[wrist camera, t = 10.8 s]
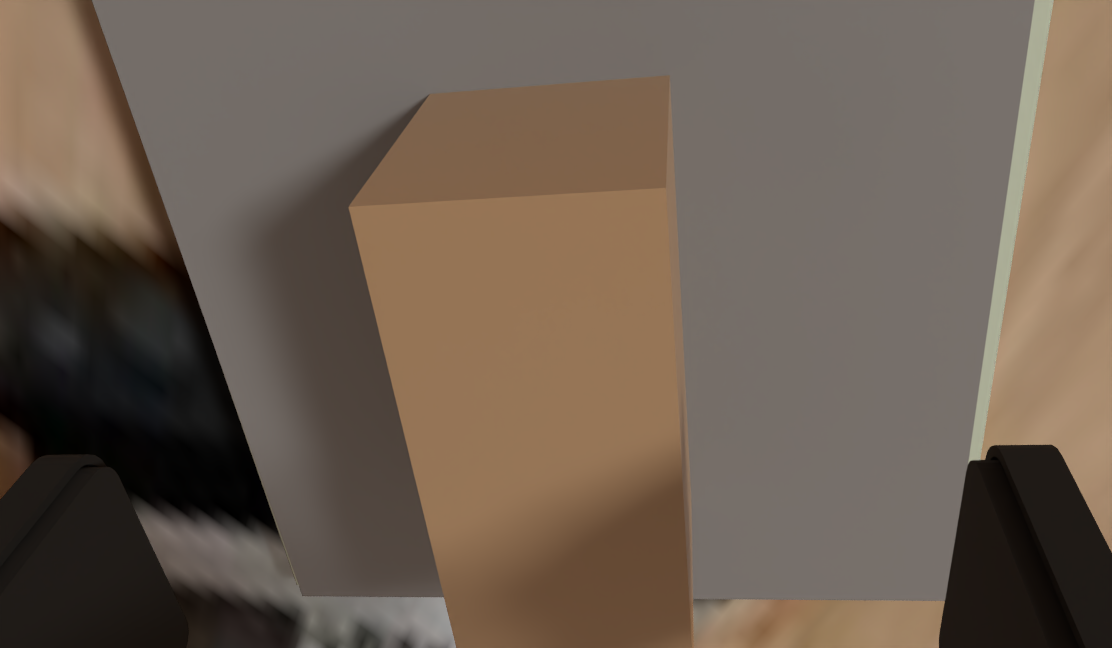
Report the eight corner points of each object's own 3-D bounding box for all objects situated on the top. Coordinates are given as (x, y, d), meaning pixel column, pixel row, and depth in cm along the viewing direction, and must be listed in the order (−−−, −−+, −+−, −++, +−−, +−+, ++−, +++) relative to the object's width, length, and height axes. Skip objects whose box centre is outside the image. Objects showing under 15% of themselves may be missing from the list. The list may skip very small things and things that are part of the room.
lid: (102, -64, 14) (-137, 14, 10) (1036, -168, 12) (1219, -123, 8) (314, 567, 21) (224, 770, 16) (938, 569, 19) (1010, 800, 14)
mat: (76, -100, 14) (60, -96, 14) (1075, -210, 12) (1087, -209, 12) (303, 571, 21) (296, 584, 21) (953, 576, 19) (958, 591, 19)
